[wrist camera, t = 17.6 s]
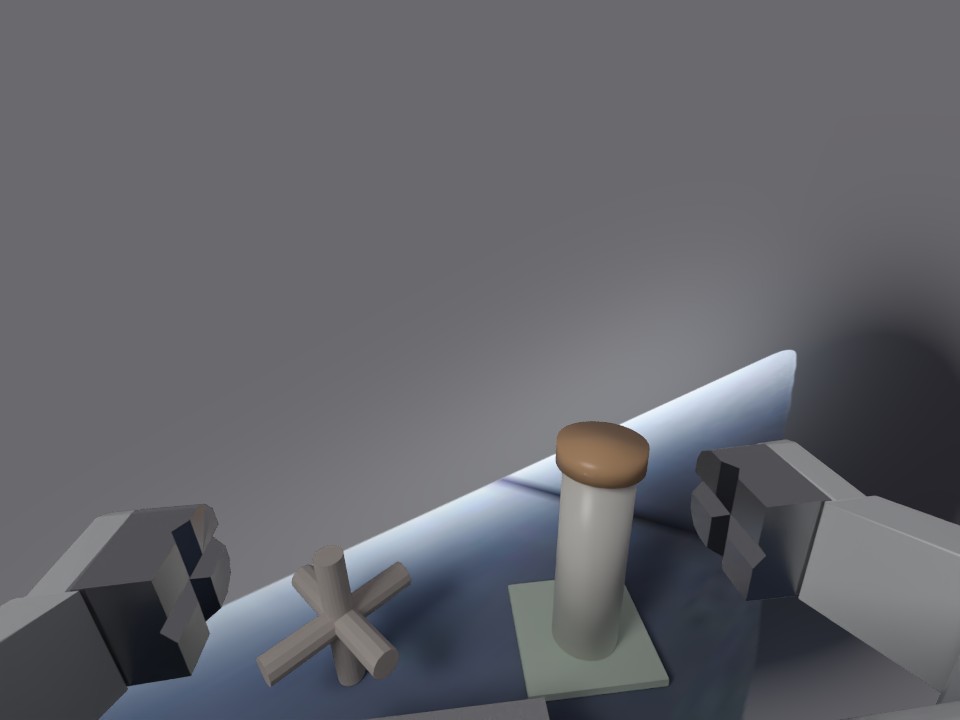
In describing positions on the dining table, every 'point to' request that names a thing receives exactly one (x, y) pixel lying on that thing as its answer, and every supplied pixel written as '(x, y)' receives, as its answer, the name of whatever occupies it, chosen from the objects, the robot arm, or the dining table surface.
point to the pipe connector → (338, 621)
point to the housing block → (485, 712)
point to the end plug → (594, 533)
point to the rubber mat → (570, 676)
